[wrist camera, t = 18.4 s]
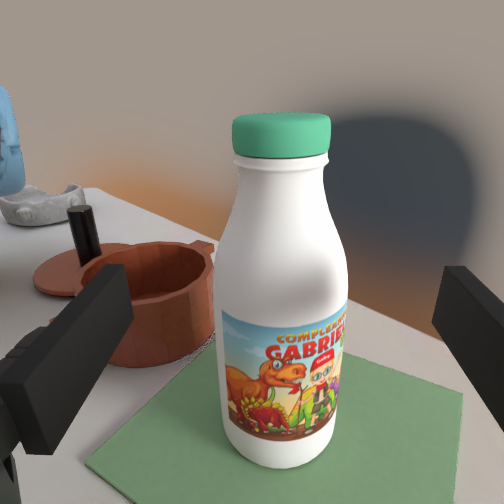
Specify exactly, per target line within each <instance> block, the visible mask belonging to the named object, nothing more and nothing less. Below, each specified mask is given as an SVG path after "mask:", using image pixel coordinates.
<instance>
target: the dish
mask: <svg viewBox="0 0 504 504" xmlns="http://www.w3.org/2000/svg"><path fill="white" fill-rule="evenodd" d="M77 205H86V200H85V195H84V192H83V189H82V187H81V186H80V185H78V184H75V183H70V184H69V185H68V187H67V189H66V190H65V191H64V192H63V193H61V194H56V195H50V194H47V193H44V192H43V191H41V190H39V189H37V188H36V187H35V186H34V185H27V186H24V188H23V189H22V190H21V191H20V192H18V193H16V194H13V195H8V196H2V197H0V209H1V211H2V214H3V216H4V217H5V219H6V220H7V221H8V222H9V223H12V224H15V225H21V226H40V225H47V224H52V223H57V222H61V221H65V220H68V216H67V212H66V210H67V209H68V208H70V207H73V206H77Z"/></svg>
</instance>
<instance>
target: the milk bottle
mask: <svg viewBox="0 0 504 504" xmlns="http://www.w3.org/2000/svg"><path fill="white" fill-rule="evenodd" d="M330 137H331V122H330V118H329V117H328V116H326V115H323V114H317V113H295V112H293V113H292V112H291V113H290V112H288V113H259V114H249V115H242V116H239V117H236V118H235V119H234V120H233V124H232V142H233V149H234V151H235V159H234V164H235V165H236V166H238V169H239V183H238V189H237V194H236V198H235V202H234V206H233V209H232V212H231V215H230V218H229V220H228V223H227V225H226V228H225V230H224V232H223V235H222V237H221V240H220V243H219V245H218V249H217V252H216V257H215V263H214V269H213V306H214V323H215V337H216V351H217V363H218V375H219V388H220V399H221V411H222V419H223V425H224V429H225V432H226V435H227V437H228V439H229V441H230V442H231V443H232V445H233V446H234V447H235V448H236V449H237V450H238V451H239V452H240V453H241V454H242V455H243V456H244V457H246V458H247V459H249V460H250V461H252V462H254V463H257V464H259V465H261V466H265V467H270V468H281V469H287V468H291V467H298V466H300V465H302V464H305V463H308V462H309V461H310V460H312V459H313V458H315V457H317V456H318V454H320V453H321V452H322V451H323V450H324V448H325V447H326V446H327V444H328V443H329V441H330V439H331V437H332V434H333V430H334V424H335V418H336V409H337V400H338V391H339V381H340V372H341V362H342V353H343V342H344V332H345V321H346V309H347V292H348V276H347V265H346V259H345V254H344V250H343V246H342V244H341V241H340V238H339V235H338V233H337V230H336V228H335V226H334V223H333V220H332V218H331V215H330V212H329V209H328V205H327V202H326V197H325V192H324V187H323V177H322V176H323V168H324V166H325V165H326V164H327V163H328V162H329V160H328V158H327V156H328V152H327V151H328V149H329V146H330Z"/></svg>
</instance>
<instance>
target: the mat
mask: <svg viewBox="0 0 504 504" xmlns="http://www.w3.org/2000/svg"><path fill="white" fill-rule="evenodd" d="M463 396H464V394H462V393H460V392H457V391H454V390H451V389H448V388H445V387H442V386H440V385H437V384H434V383H431V382H428V381H425V380H422V379H419V378H417V377H414V376H411V375H408V374H405V373H402V372H399V371H396V370H394V369H391V368H388V367H385V366H382V365H379V364H376V363H374V362H371V361H368V360H365V359H362V358H359V357H356V356H353V355H351V354H348V353H345V352H343V353H342V362H341V372H340V381H339V391H338V400H337V409H336V418H335V424H334V430H333V434H332V437H331V439H330V441H329V443H328V444H327V446H326V447H325V448H324V450H323V451H322V452H321V453H320V454H318V456H317V457H315V458H313V459H312V460H310V461H309V462H308V463H305V464H302V465H300V466H298V467H291V468H287V469H281V468H270V467H265V466H261V465H259V464H257V463H254V462H252V461H250V460H249V459H247V458H246V457H244V456H243V455H242V454H241V453H240V452H239V451H238V450H237V449H236V448H235V447H234V446H233V445H232V443H231V442H230V441H229V439H228V437H227V435H226V432H225V429H224V425H223V419H222V411H221V399H220V388H219V375H218V363H217V351H216V339H215V340H214V341H213V342H212V343H211V344H210V345H209V346H208V347H207V348H206V349H204V350H203V351H202V352H201V353H200V354H199V355H198V356H197V357H196V358H195V359H194V360H193V361H192V362H191V363H189V364H188V365H187V366H186V367H185V368H184V369H183V370H182V371H181V372H180V373H179V374H178V375H177V376H176V377H175V378H173V379H172V380H171V381H170V382H169V383H168V384H167V385H166V386H165V387H164V388H163V389H162V390H161V391H160V392H158V393H157V394H156V395H155V396H154V397H153V398H152V399H151V400H150V401H149V402H148V403H147V404H146V405H145V406H144V407H142V408H141V409H140V410H139V411H138V412H137V413H136V414H135V415H134V416H133V417H132V418H131V419H130V420H129V421H127V422H126V423H125V424H124V425H123V426H122V427H121V428H120V429H119V430H118V431H117V432H116V433H115V434H114V435H112V436H111V437H110V438H109V439H108V440H107V441H106V442H105V443H104V444H103V445H102V446H101V447H100V448H99V449H98V450H96V451H95V452H94V453H93V454H92V455H91V456H90V457H89V458H88V459H87V460H86V461H85V462H84V463H85V465H86V466H87V467H89V468H90V469H91V470H92V471H94V472H95V473H96V474H98V475H99V476H100V477H101V478H103V479H104V480H105V481H106V482H108V483H109V484H110V485H112V486H113V487H114V488H115V489H117V490H118V491H119V492H120V493H122V494H123V495H124V496H126V497H127V498H128V499H129V500H131V501H132V502H133V503H134V504H453V499H454V489H455V478H456V468H457V458H458V447H459V437H460V427H461V416H462V406H463Z"/></svg>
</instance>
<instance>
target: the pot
mask: <svg viewBox="0 0 504 504" xmlns="http://www.w3.org/2000/svg"><path fill="white" fill-rule="evenodd" d="M213 252H214V244H212V243H208V242H204V241H200V240H196V241H195V242H193V243H191V244H189V245H188V244H184V243H180V242H150V243H141V244H135V245H131V246H127V247H123V248H119V249H115V250H112V251H110V252H107V253H105V254H103V255H101V256H98V257H96V258H94V259H93V260H91V261H90V262H88V263H87V264H86V265H85V266H83V267H82V268H81V269H80V270H78V271H77V273H76V276H75V278H74V280H73V283H72V287H73V290H74V294H75V297H76V296H77V294H78V293H79V292H80V291H81V290H82V289H83V288H84V287H85V286H86V285H87V284H88V283H89V282H90V281H91V280H92V278H93V277H94V276H95V275H96V274H97V273H98V272H99V271H100V270H101V269H102V268H103V267H104V266H105V265H106V264H124V267H125V272H126V277H127V282H128V287H129V292H130V297H131V302H132V307H133V312H134V317H135V318H134V320H133V321H132V323H131V325H130V326H129V328H128V330H127V331H126V333H125V335H124V336H123V338H122V340H121V341H120V343H119V345H118V346H117V348H116V350H115V351H114V353H113V355H112V356H111V358H110V360H109V361H108V363H110V364H113V365H117V366H123V367H135V368H136V367H149V366H156V365H160V364H165V363H168V362H171V361H174V360H177V359H179V358H181V357H184V356H185V355H187V354H189V353H191V352H193V351H194V350H196V349H197V348H199V347H200V346H201V345H202V344H203V343H204V342H205V341H206V340H207V339H208V338H209V337H210V336H211V334H212V333H213V331H214V329H215V323H214V306H213V269H214V266H213V263H212V259H211V256H210V254H211V253H213ZM56 317H57V316H56ZM56 317H55V318H56ZM55 318H53V319H51V320H50V323H51V322H52V321H53V320H54V319H55Z"/></svg>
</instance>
